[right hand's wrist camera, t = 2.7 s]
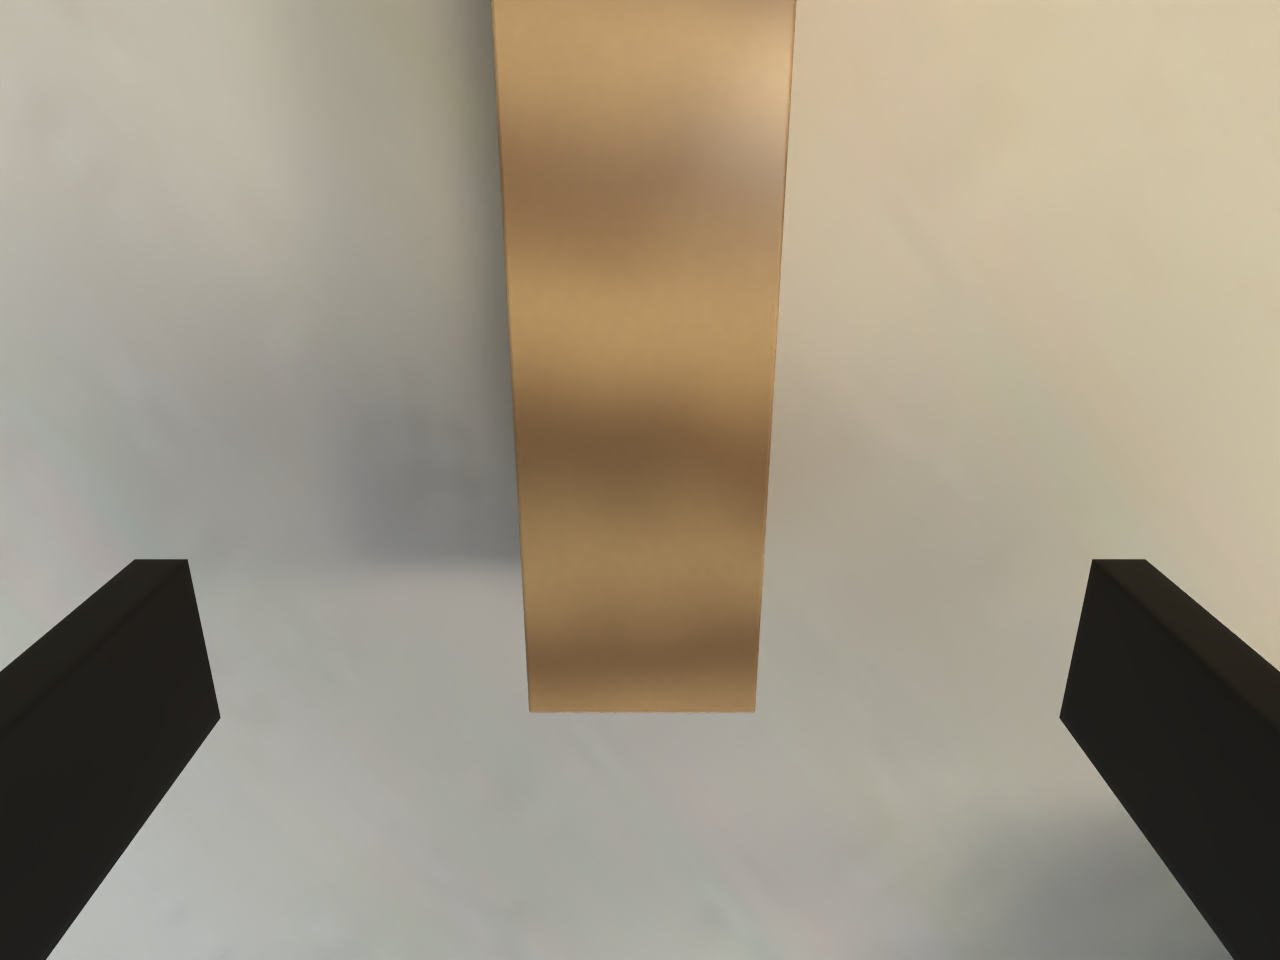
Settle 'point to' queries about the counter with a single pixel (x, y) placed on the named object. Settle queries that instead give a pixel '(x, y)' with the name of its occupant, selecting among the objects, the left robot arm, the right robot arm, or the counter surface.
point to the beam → (642, 338)
